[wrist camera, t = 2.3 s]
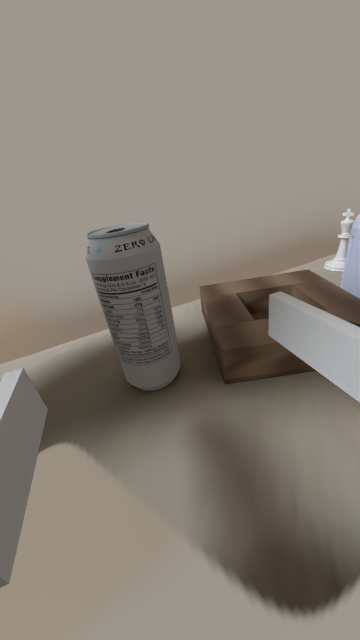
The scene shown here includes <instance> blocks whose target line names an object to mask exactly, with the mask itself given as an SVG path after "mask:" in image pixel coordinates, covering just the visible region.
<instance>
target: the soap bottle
mask: <svg viewBox="0 0 360 640" xmlns="http://www.w3.org/2000/svg"><path fill="white" fill-rule="evenodd" d="M340 288H342V289H344V290H345V291H347V292H349V293H351V294H353V295H354V296H356V297H358V298H360V214H359V215H358V216H357V218H356V220H355V221H354V223H353V225H352V228H351V233H350V239H349V244H348V249H347V254H346V260H345V265H344V270H343V275H342V281H341V286H340Z"/></svg>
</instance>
